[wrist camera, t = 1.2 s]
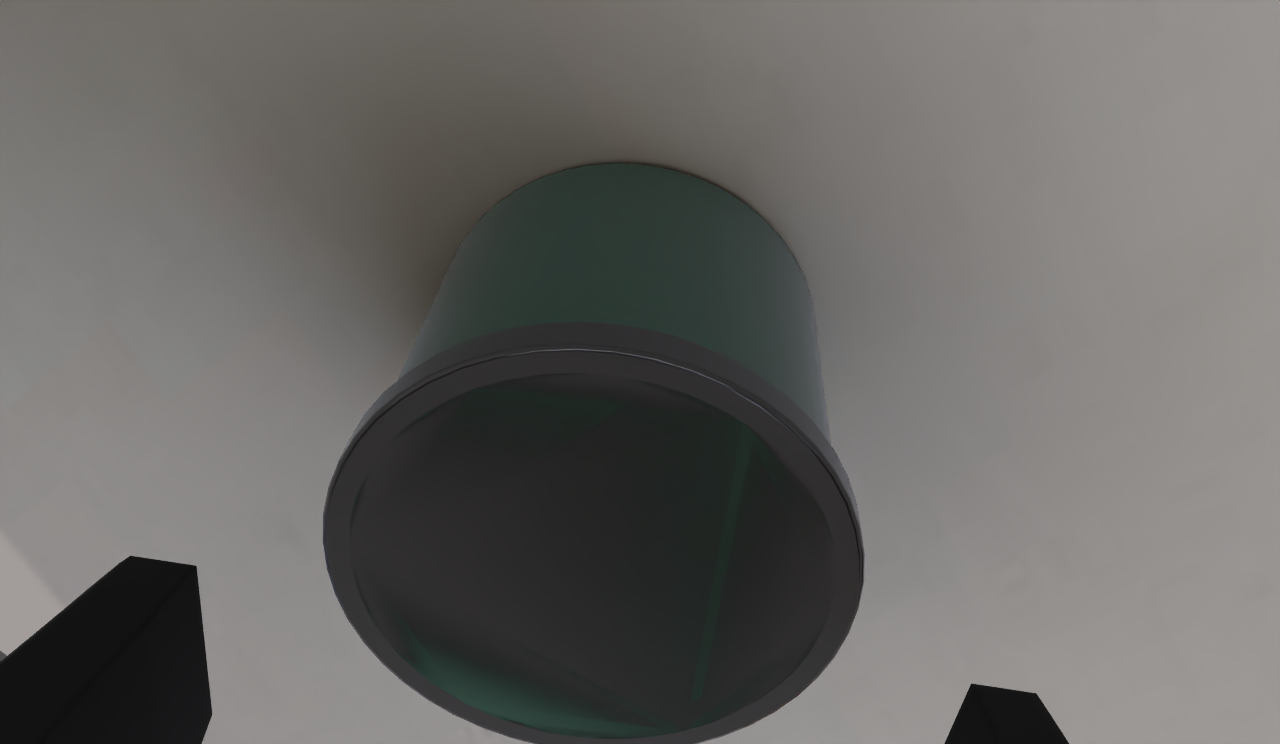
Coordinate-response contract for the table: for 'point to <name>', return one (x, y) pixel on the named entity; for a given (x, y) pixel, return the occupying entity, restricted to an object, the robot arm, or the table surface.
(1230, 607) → the table surface
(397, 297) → the table surface
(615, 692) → the pot
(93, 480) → the table surface
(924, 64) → the table surface
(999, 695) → the robot arm
